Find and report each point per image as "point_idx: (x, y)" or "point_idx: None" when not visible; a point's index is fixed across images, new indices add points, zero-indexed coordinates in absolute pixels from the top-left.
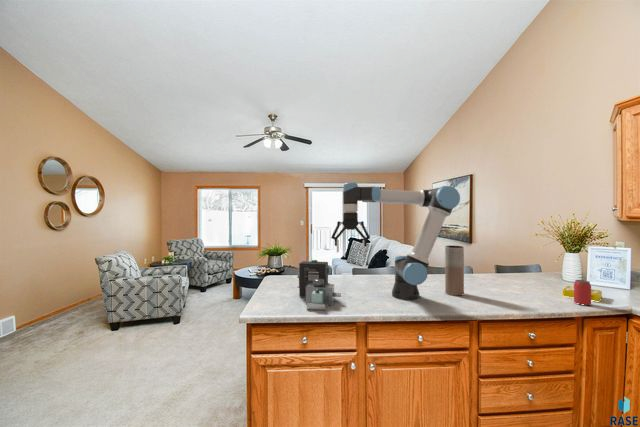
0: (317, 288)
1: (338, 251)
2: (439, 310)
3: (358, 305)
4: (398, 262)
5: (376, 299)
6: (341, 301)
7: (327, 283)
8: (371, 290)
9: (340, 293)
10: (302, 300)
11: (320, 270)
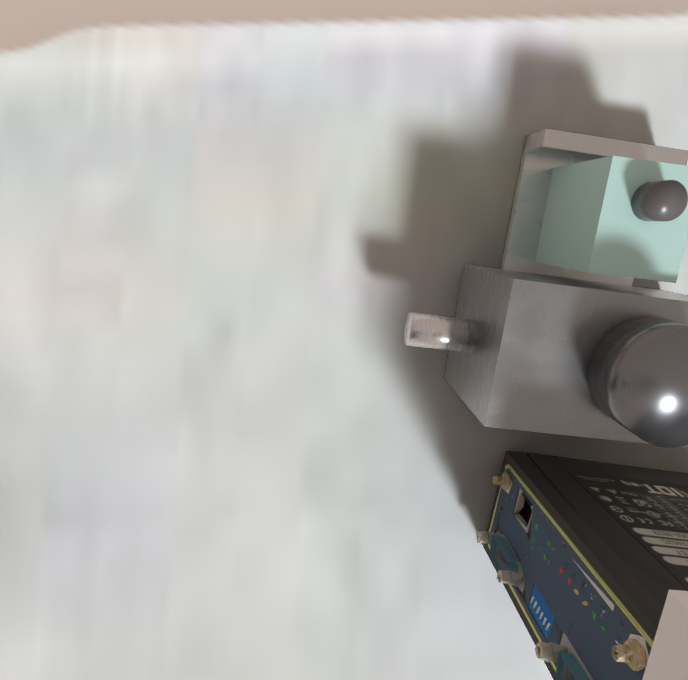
0: (650, 295)
1: (660, 660)
2: None
3: (262, 275)
4: None
5: (108, 432)
6: (389, 368)
7: (521, 585)
8: (134, 661)
9: (414, 324)
10: None
11: None
